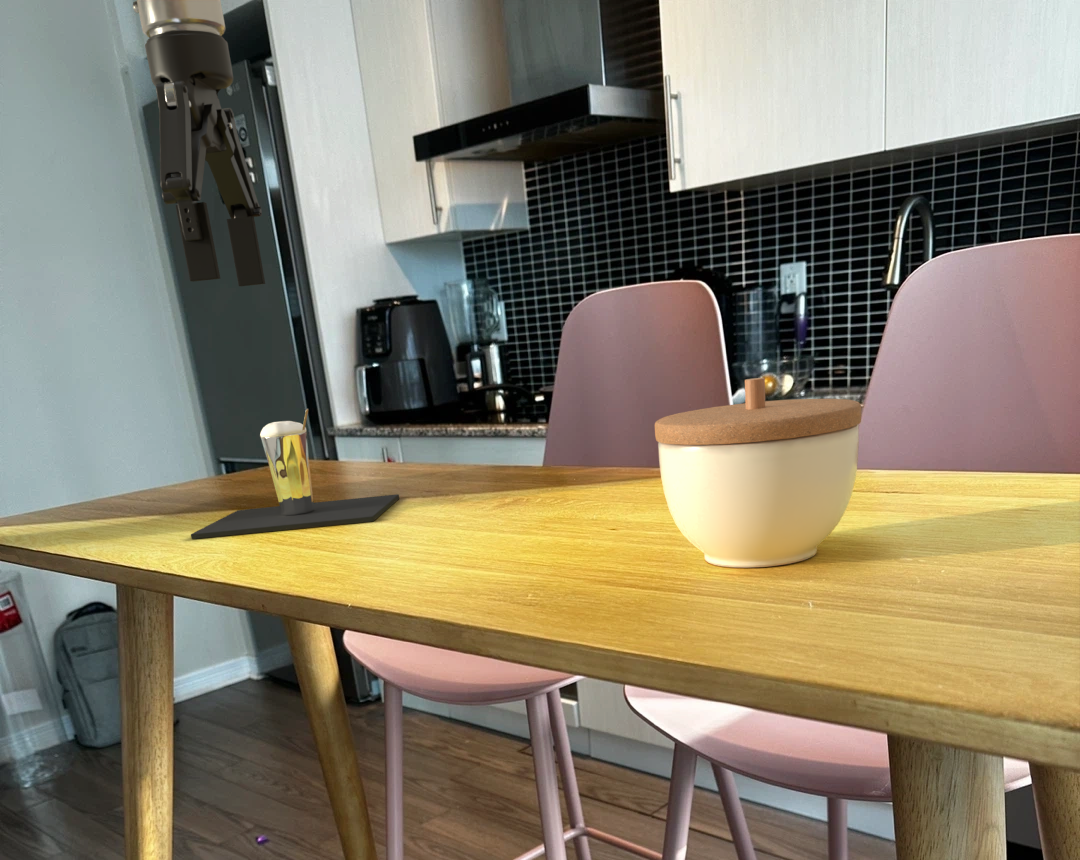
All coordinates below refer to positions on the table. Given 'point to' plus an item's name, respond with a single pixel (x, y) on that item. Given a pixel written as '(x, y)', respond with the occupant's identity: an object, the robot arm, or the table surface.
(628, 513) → the table surface
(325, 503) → the mat
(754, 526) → the lidded bowl
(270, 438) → the milkshake
